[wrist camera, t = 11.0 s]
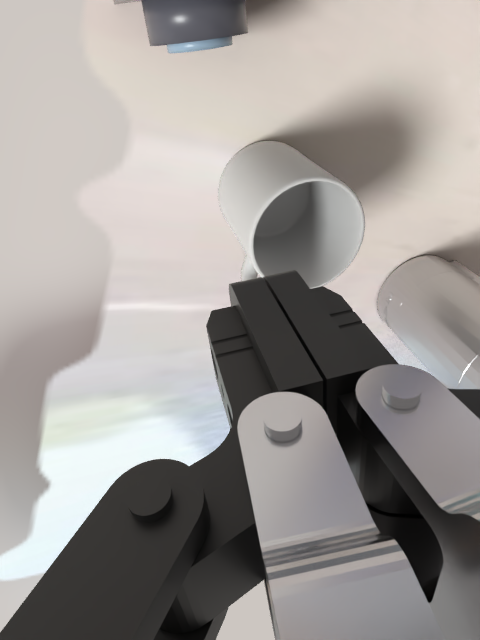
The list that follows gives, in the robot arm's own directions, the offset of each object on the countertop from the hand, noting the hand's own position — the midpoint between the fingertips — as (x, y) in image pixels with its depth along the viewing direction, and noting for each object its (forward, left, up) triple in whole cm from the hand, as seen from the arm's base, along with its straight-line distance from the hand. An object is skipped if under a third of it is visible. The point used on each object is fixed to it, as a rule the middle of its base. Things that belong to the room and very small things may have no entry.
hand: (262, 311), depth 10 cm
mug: (-7, +9, -29) cm, 31 cm away
